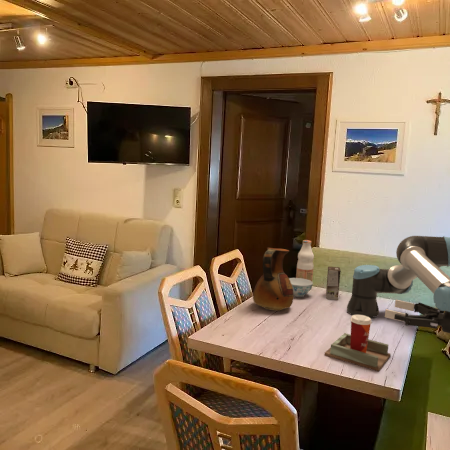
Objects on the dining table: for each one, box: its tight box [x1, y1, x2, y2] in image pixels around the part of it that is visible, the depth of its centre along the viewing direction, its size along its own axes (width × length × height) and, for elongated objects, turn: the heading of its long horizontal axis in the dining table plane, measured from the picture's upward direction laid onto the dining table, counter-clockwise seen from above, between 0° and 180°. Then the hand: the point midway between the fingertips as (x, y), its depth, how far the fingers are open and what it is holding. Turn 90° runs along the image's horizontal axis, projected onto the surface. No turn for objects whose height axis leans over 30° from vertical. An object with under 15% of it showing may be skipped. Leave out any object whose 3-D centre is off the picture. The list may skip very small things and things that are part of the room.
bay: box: [323, 332, 391, 372], centre depth 164 cm, size 16×20×4 cm
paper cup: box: [350, 315, 373, 353], centre depth 164 cm, size 8×8×14 cm
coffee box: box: [325, 266, 342, 301], centre depth 236 cm, size 9×6×16 cm
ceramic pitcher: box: [252, 247, 295, 311], centre depth 213 cm, size 20×20×30 cm
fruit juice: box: [295, 239, 315, 290], centre depth 250 cm, size 9×9×28 cm
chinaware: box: [288, 277, 314, 298], centre depth 238 cm, size 15×15×8 cm
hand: (390, 308), depth 156 cm, fingers open, 13 cm apart
